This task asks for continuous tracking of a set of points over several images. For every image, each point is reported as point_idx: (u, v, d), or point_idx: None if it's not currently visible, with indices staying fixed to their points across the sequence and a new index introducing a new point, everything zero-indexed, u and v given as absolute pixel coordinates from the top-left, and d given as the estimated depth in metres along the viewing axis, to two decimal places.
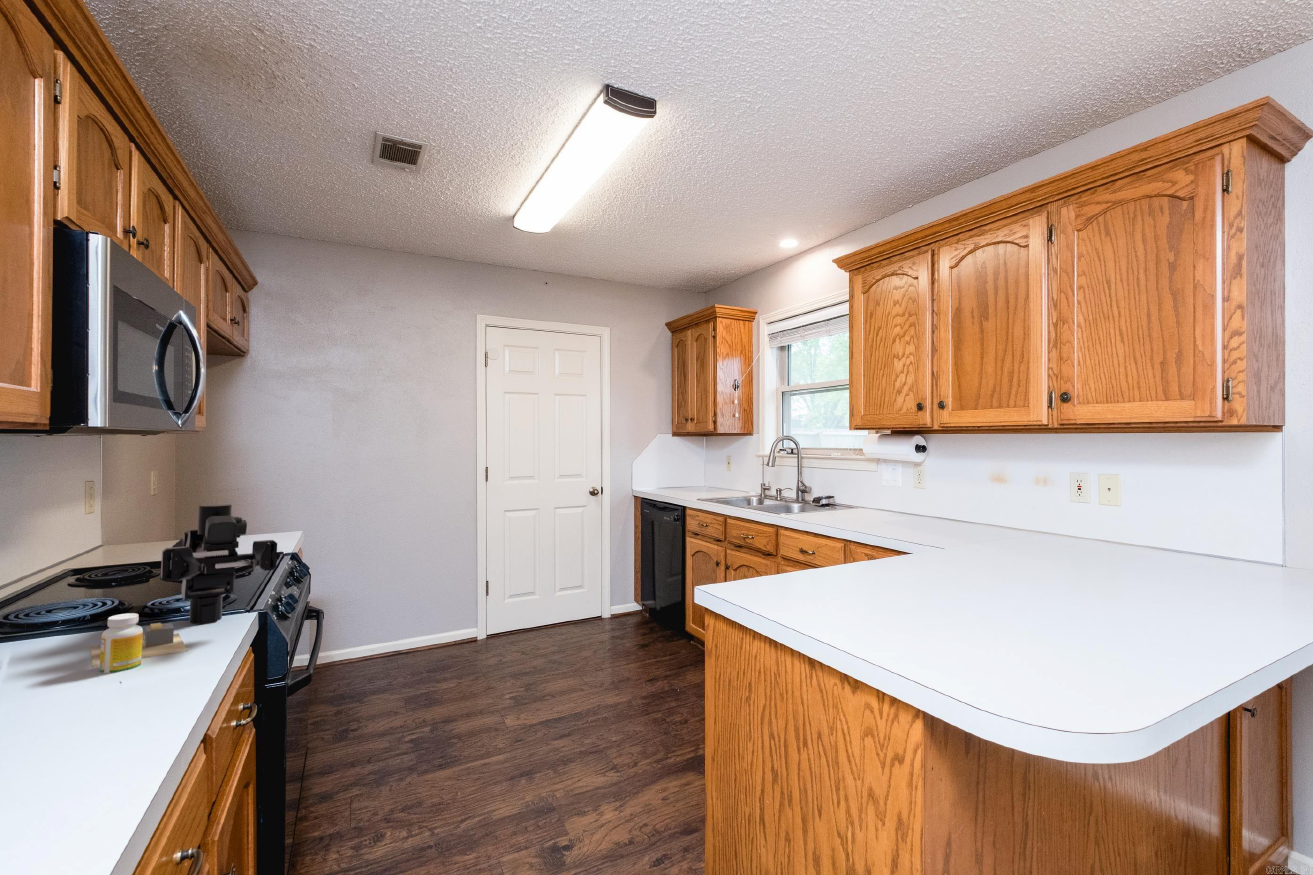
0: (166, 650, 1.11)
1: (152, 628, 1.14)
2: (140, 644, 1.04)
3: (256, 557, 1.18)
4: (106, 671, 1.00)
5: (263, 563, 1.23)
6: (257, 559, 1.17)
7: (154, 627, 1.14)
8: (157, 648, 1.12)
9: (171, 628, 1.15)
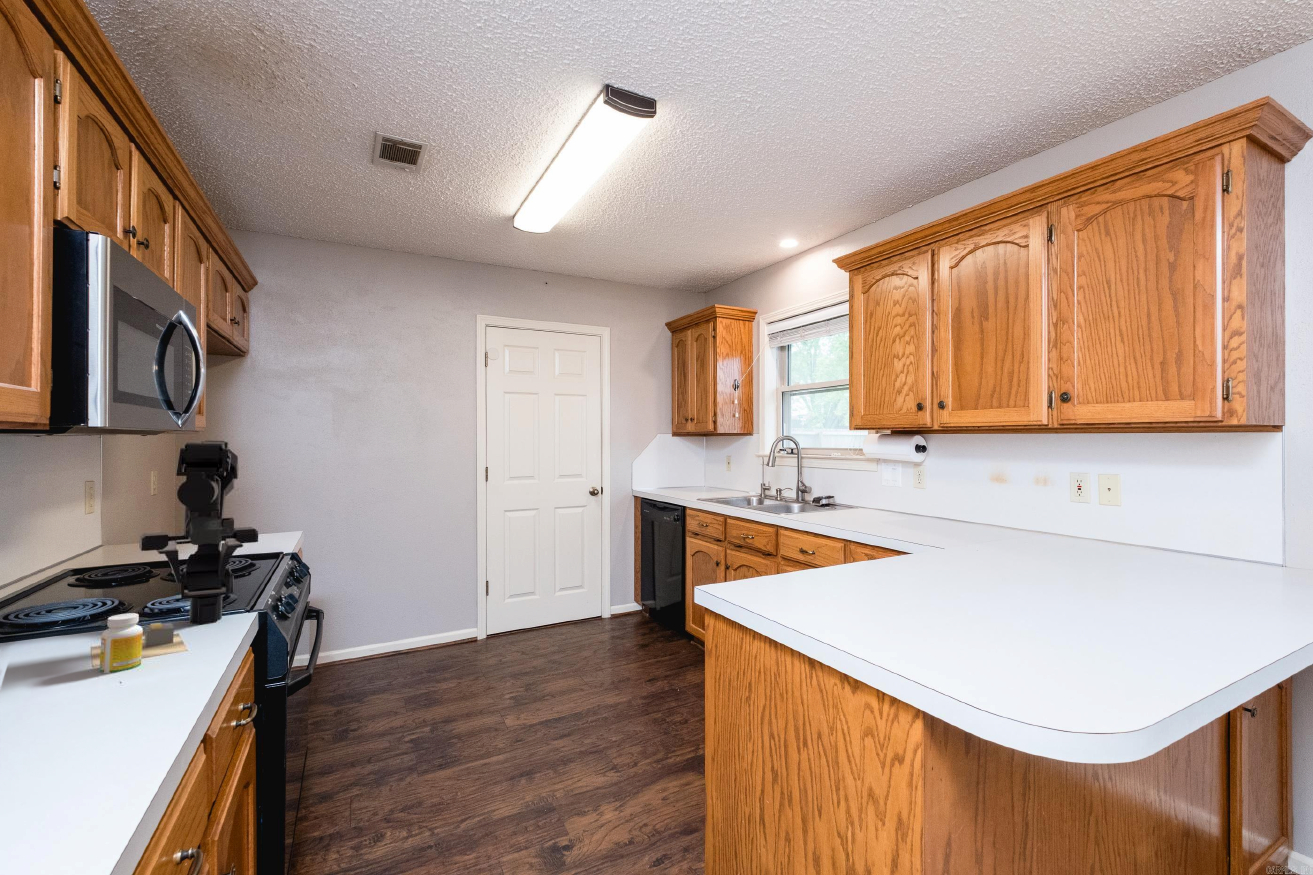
0: (166, 650, 1.11)
1: (152, 628, 1.14)
2: (140, 644, 1.04)
3: (221, 570, 1.22)
4: (106, 671, 1.00)
5: None
6: (220, 576, 1.22)
7: (154, 627, 1.14)
8: (157, 648, 1.12)
9: (171, 628, 1.15)
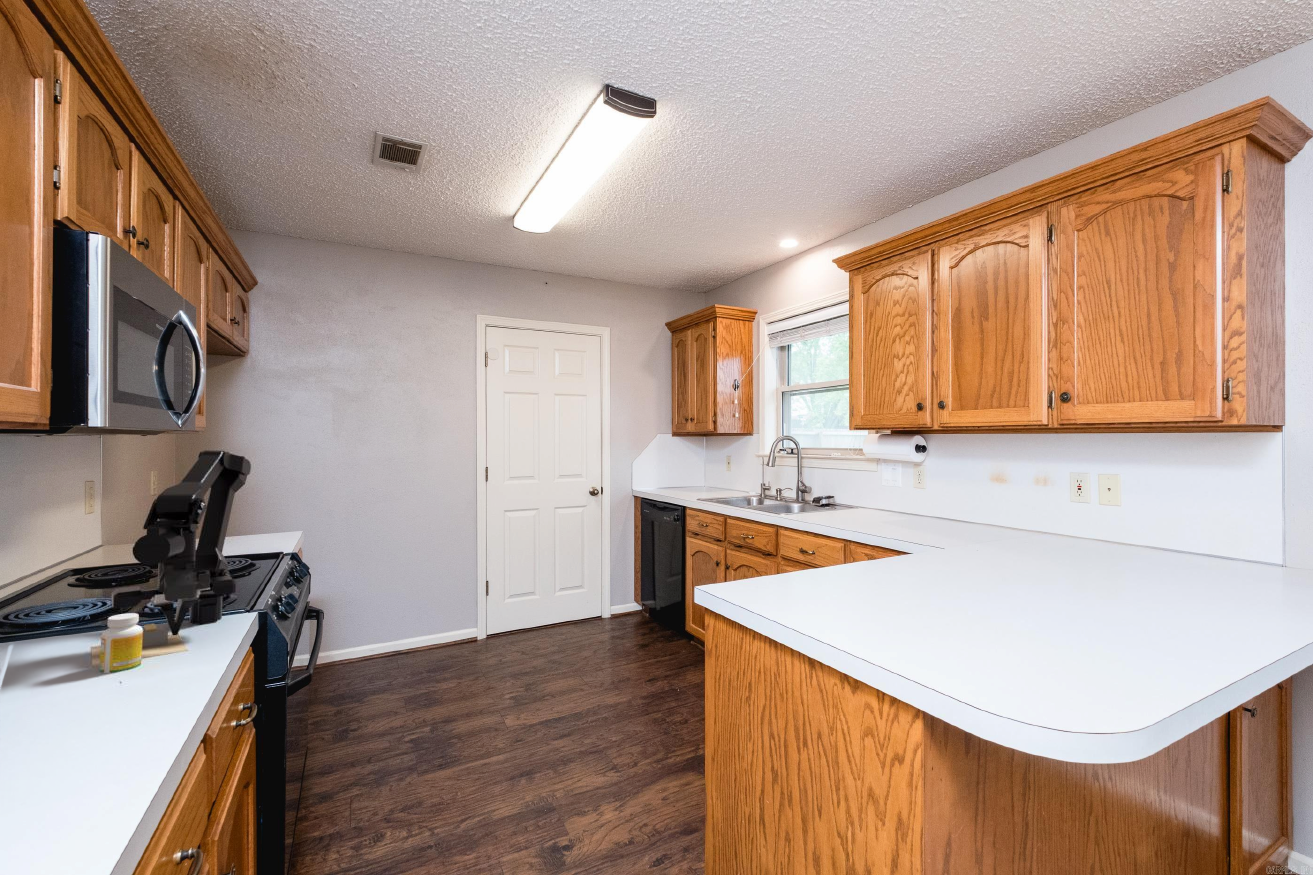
0: (166, 650, 1.11)
1: (146, 629, 1.13)
2: (140, 644, 1.04)
3: (176, 626, 1.17)
4: (106, 671, 1.00)
5: None
6: (176, 632, 1.17)
7: (148, 628, 1.13)
8: (157, 648, 1.12)
9: (165, 629, 1.15)
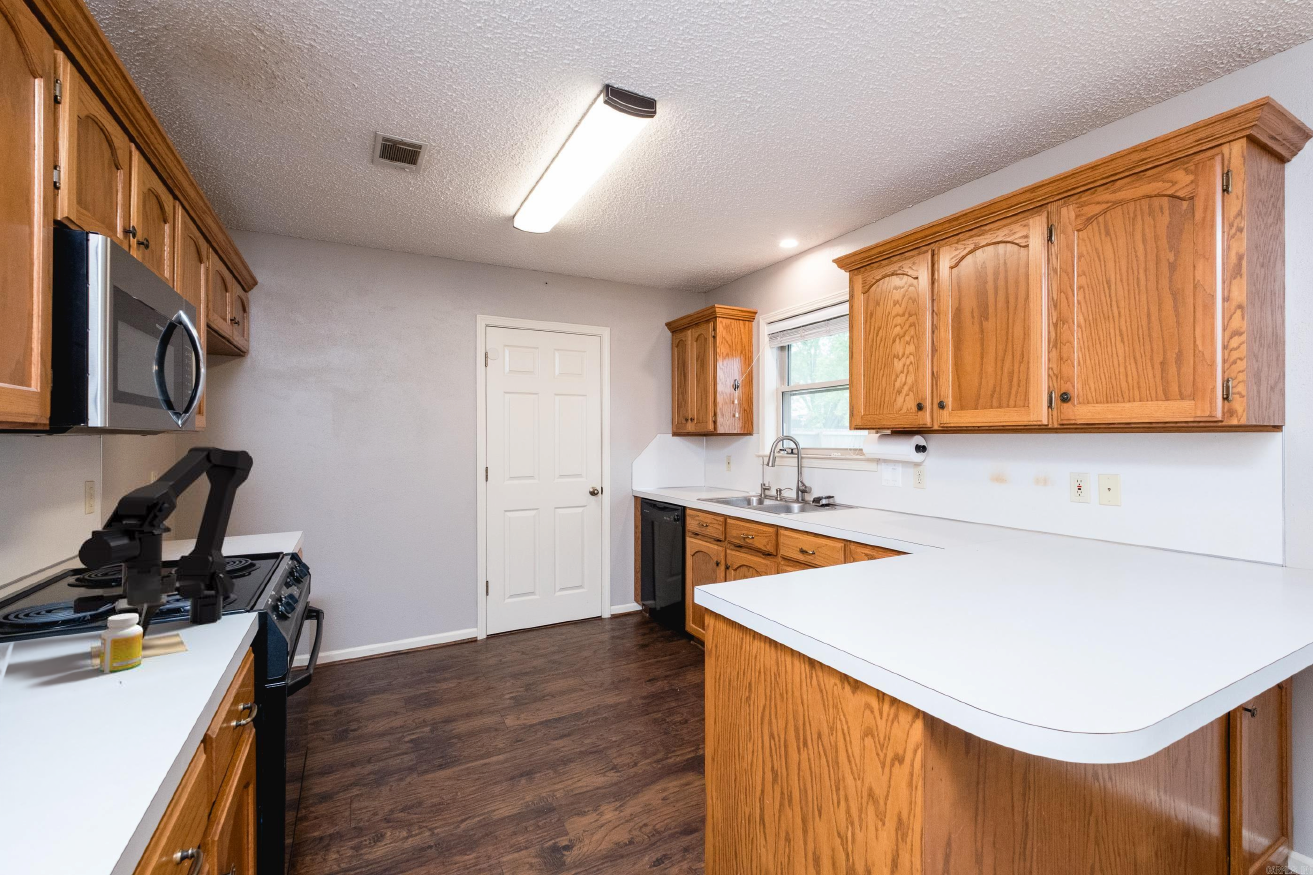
0: (166, 650, 1.11)
1: None
2: (140, 644, 1.04)
3: None
4: (106, 671, 1.00)
5: None
6: None
7: None
8: (157, 648, 1.12)
9: None
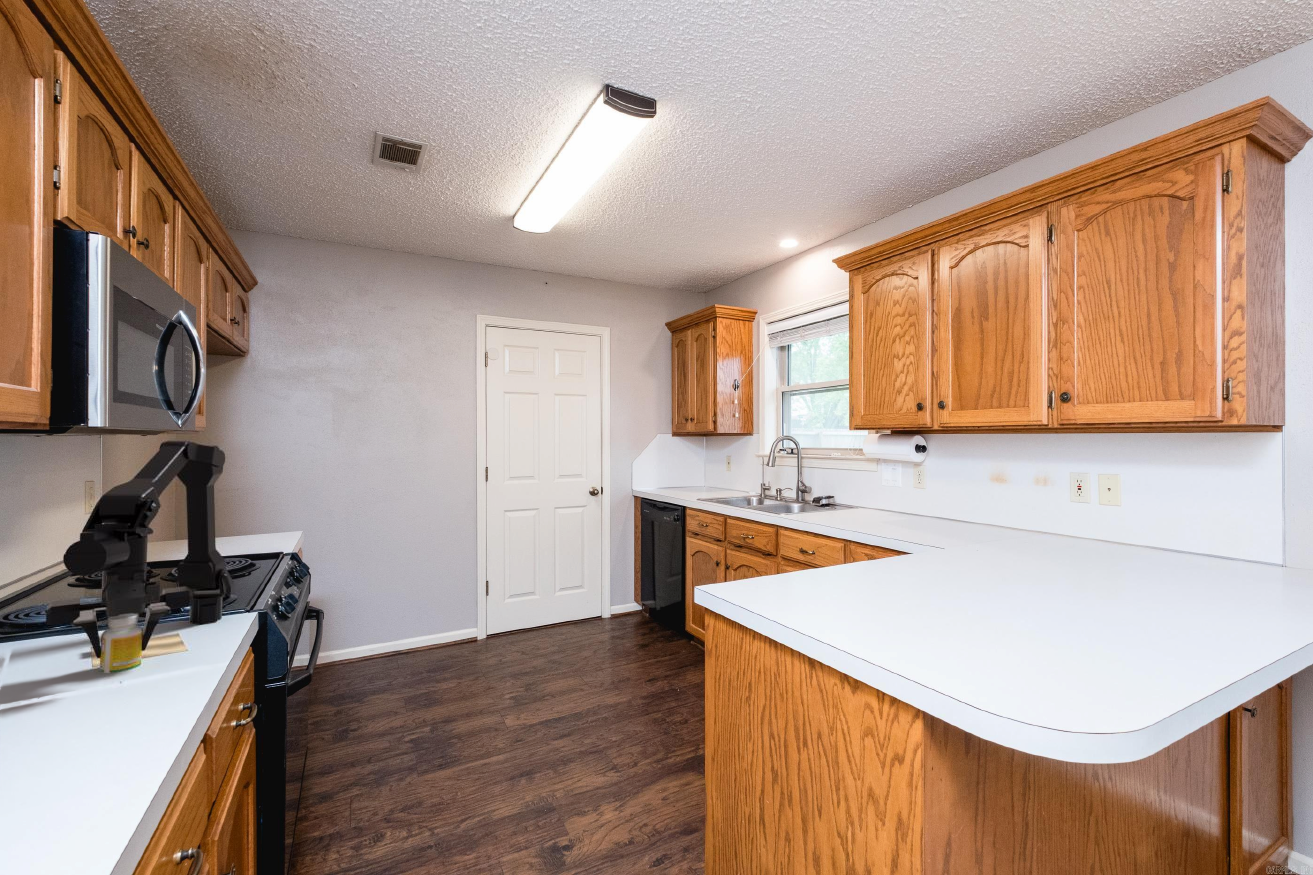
0: (166, 650, 1.11)
1: None
2: (140, 644, 1.04)
3: (144, 641, 1.04)
4: (106, 671, 1.00)
5: None
6: (143, 647, 1.04)
7: None
8: (157, 648, 1.12)
9: None
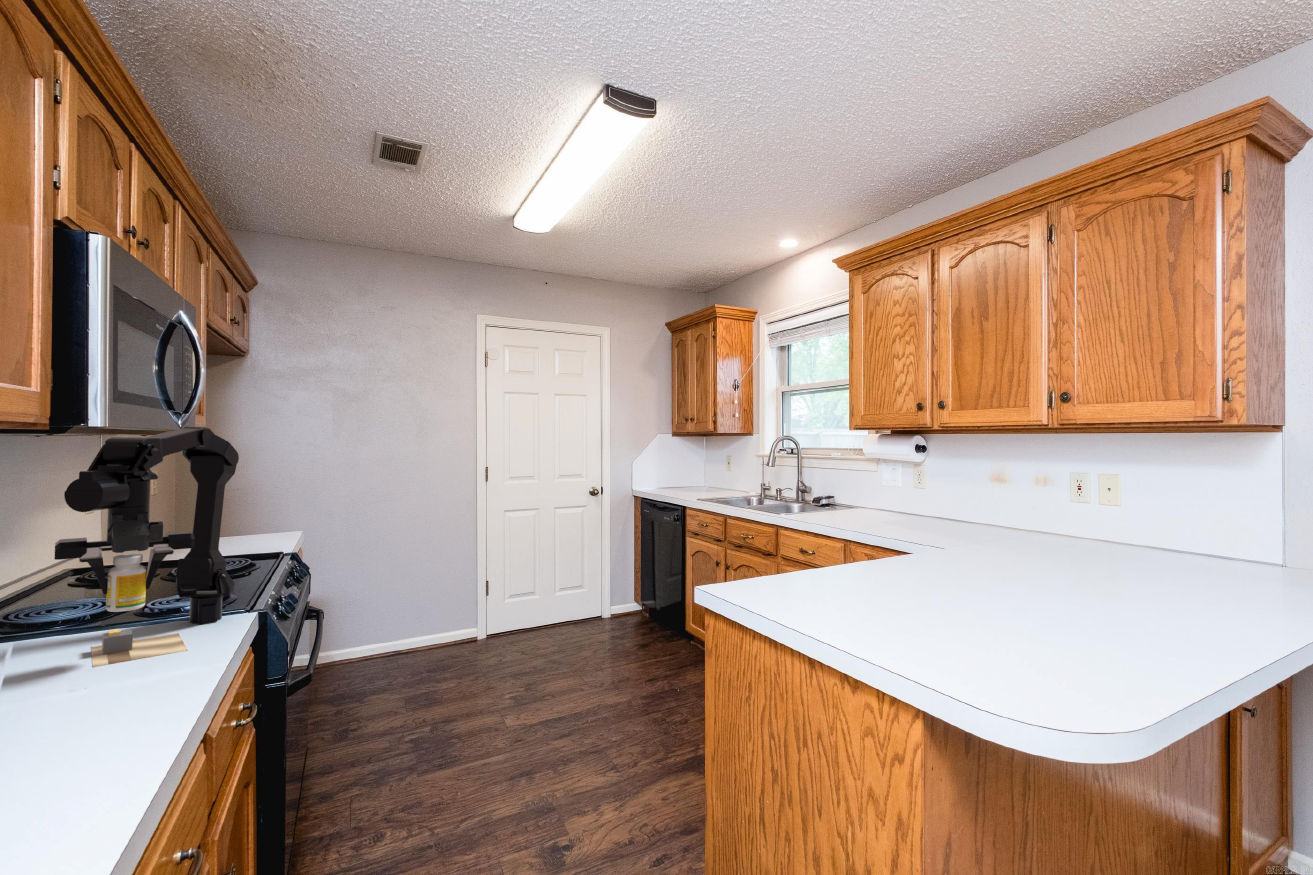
0: (166, 650, 1.11)
1: (109, 634, 1.09)
2: (144, 583, 1.08)
3: (148, 580, 1.09)
4: (112, 607, 1.05)
5: None
6: (147, 586, 1.09)
7: (112, 633, 1.10)
8: (157, 648, 1.12)
9: (130, 634, 1.11)
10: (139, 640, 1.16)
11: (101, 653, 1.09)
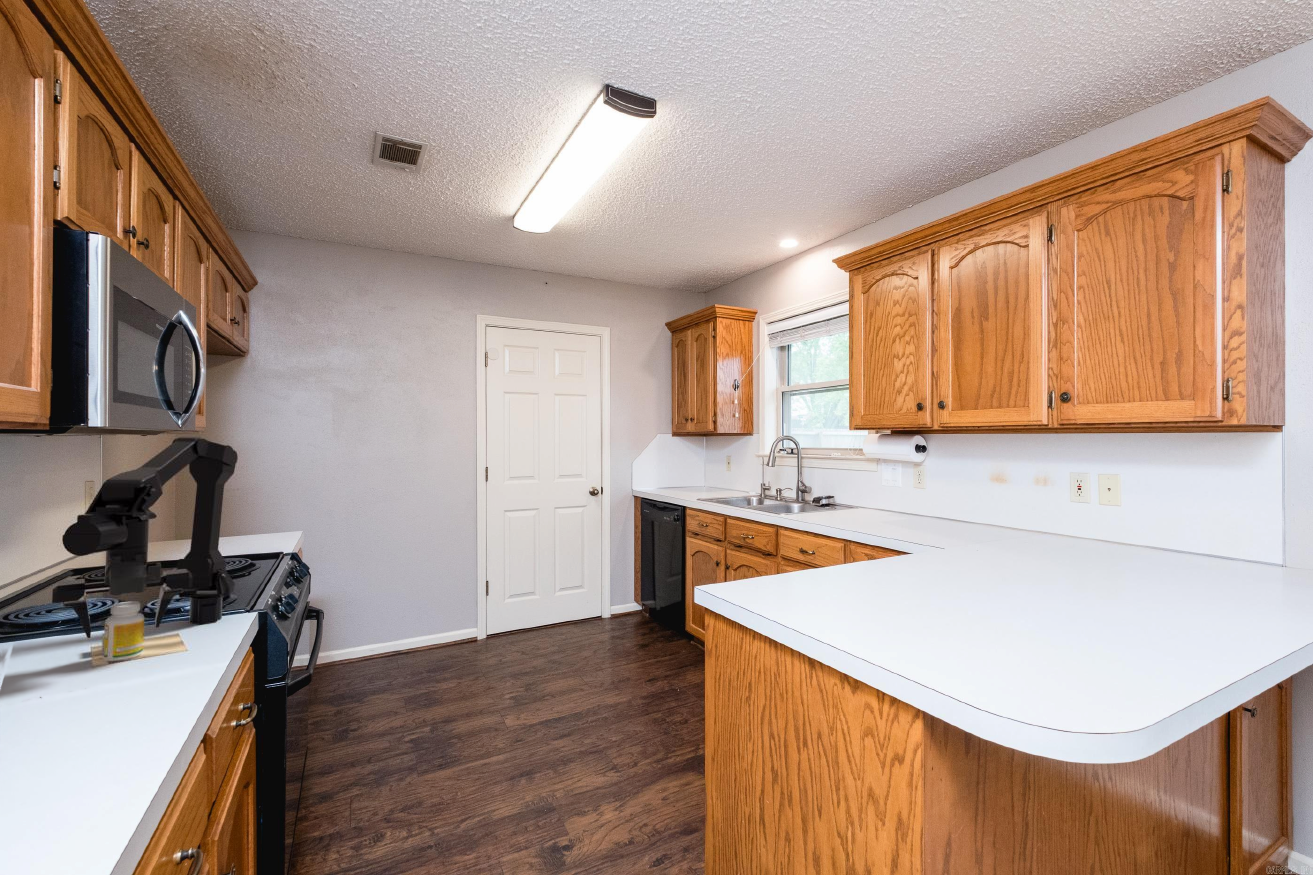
0: (166, 650, 1.11)
1: None
2: (142, 631, 1.08)
3: (158, 618, 1.10)
4: (109, 656, 1.05)
5: None
6: (157, 624, 1.10)
7: None
8: (157, 648, 1.12)
9: None
10: None
11: (101, 653, 1.09)
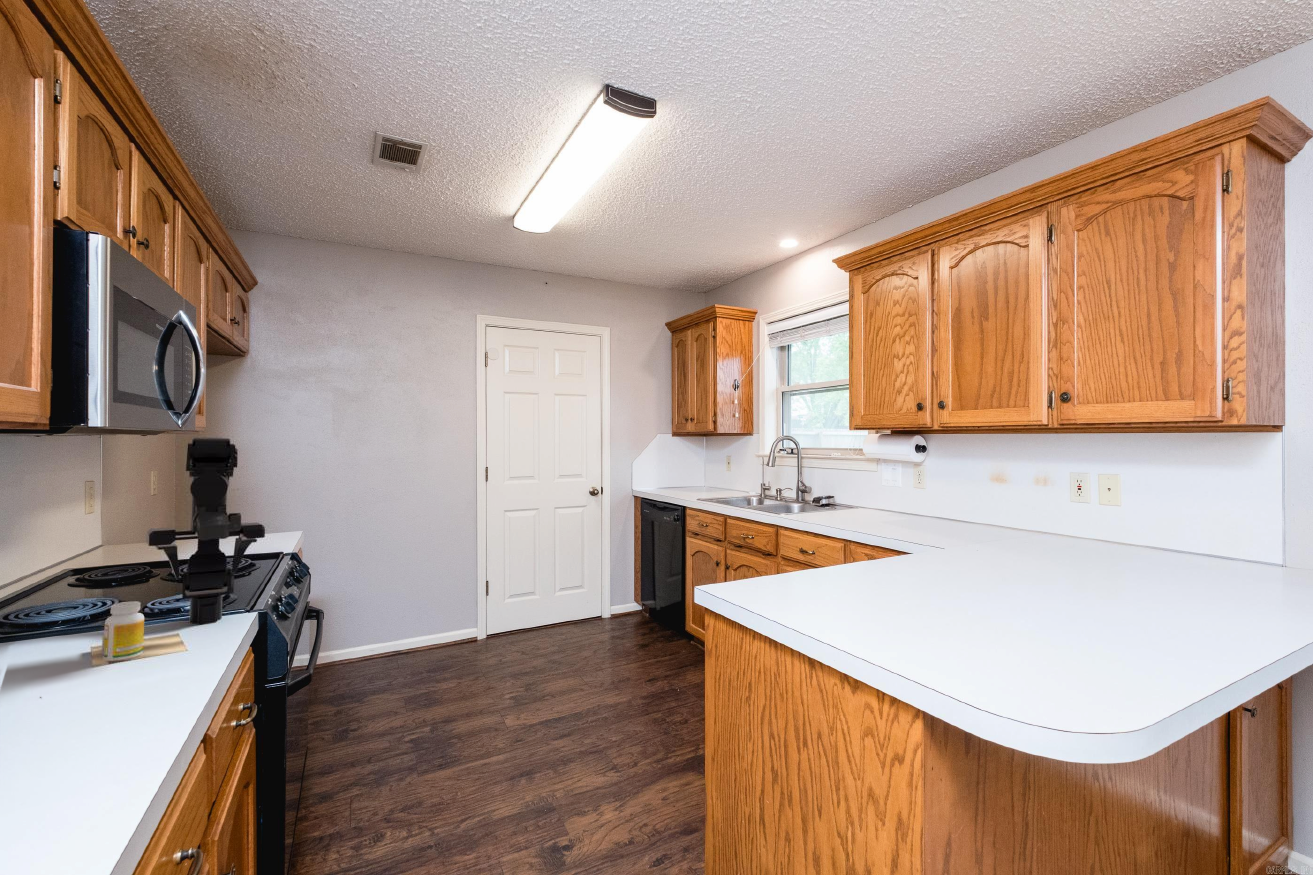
0: (166, 650, 1.11)
1: None
2: (142, 631, 1.08)
3: (235, 565, 1.23)
4: (109, 656, 1.05)
5: None
6: (234, 570, 1.23)
7: None
8: (157, 648, 1.12)
9: None
10: None
11: (101, 653, 1.09)
